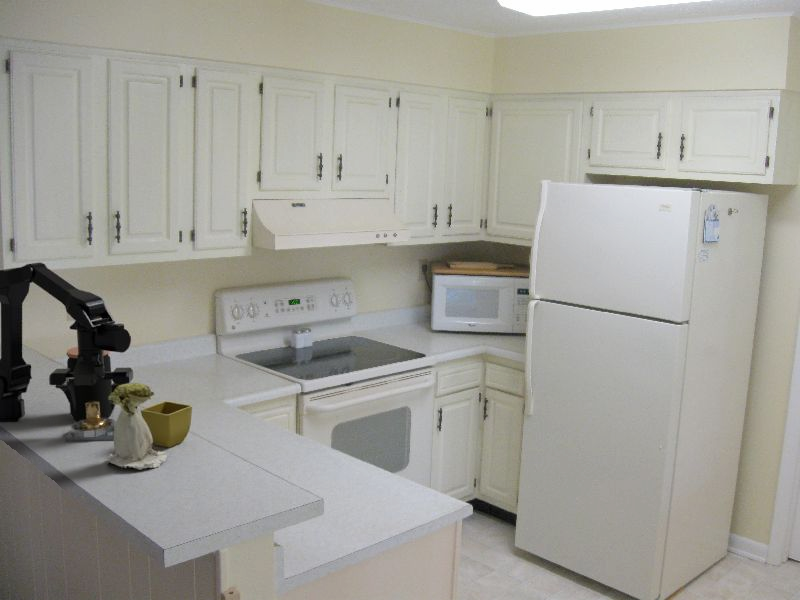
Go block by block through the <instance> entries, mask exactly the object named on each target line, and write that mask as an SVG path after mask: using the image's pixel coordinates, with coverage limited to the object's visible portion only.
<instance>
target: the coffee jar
mask: <svg viewBox="0 0 800 600" xmlns="http://www.w3.org/2000/svg"><path fill="white" fill-rule="evenodd" d="M103 351H104V354H103V362H104V367H105V372H112V365H111V364H112V363H111V357H110V355H109V354H110V352H111V351H105V350H103ZM77 355H78V346H75V347H72V348H69V349H68V350H67V349H66V356H67V357H68V358H67V360H66V361H67V362H66V366H67V368H66V369H70V368H71V370H72V372H74V369H75V366H76V364H77ZM112 382H113V381H112V379H110V380H96V383H95V384H94V385H91V386H89V385H80V386H76V385H75V383H74V390H75V400H76V410H75V411H73V410H72V408H71V406H70V405H69V412H70V416H71V417H72V419H73V420H74V421H75V422H78V421H80V420H84V419H87V418H86V402H89V401H99V405H100V418H110V417H111V416H112V414H113V412H114V410H112V409H111V402H109V400H108V397H109V395H110V394H111V393H112V387H111V385H112V384H113V383H112Z"/></svg>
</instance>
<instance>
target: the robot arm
mask: <svg viewBox="0 0 800 600" xmlns="http://www.w3.org/2000/svg"><path fill="white" fill-rule="evenodd" d="M31 283H34V284H35V285H36V286H38V287H39V288H40V289H42V290H43V291H44V292H46V294H47V293H48V294H49V295H50V296H51V297H53V298H54V299H56V300H57V301H58V302H60V303H61V304H62V305H63V306H64V308H65V310H66V313H67V314H68V315H69V316H70V317H71V318H72V319H73V320H74V322H73V323H72V324H71V325H70V326H69V330H73V331H76V340H77V342H76V343H77V347H78V355H77V364H76V366H75V369H74V372H72V370H71V368H70V369H67V368H56V369H55V370H54V371H52V372H51V374H49V377H48V381H49V383H48V384H49V385H50V386H54V387H55V388H56V389H60V391H62V392H63V394H64V395H65V397H66V398H67V400H68V404H69V407H70V406H71V408H72V410H73V411H75V410H76V400H75V390H74V383H75V385H76V386H80V385H89V386H91V385H94V384H95V383H96V380H110V379H112V382H113V383H112V385H111V387H112V393H113V391H114V390H115V389H116V388H117V387H118V386H120V385H123V384H129V383H132V382H131V381H132V380H133V379H134V371H133V369H132V368H131V367H116V368H115V369H114V370H113V371H111V372H105V367H104V362H103V354H104V351H103V350H105V351H110V352H114V353H125V352H127V350H129V348H130V346H131V343H132V342H131V341H132V336H131V335H130V332H129V330H127V329H126V328H125V324H124V323H116V321H115V319H114V317H113V315H112V314H111V313H110V311H109V309H108V308H107V305H106V304H105V301H104V299H103V298H102V297H100V296H99V295H97V294H94V293H92V292H90V291H85V290H81V289H78V288H77V287H75V286H74V285H72V284H71V283H69V282H68V281H66V280H65V279H64V278H62V277H61V276H59V275H58V274H57V273H55V272H54V271H52V270H51V269H49V268H48V267H47V265H46V264H45V263H43V262H32V263H26V264H25V265H23V266H20V267H12V268H6V269H0V422H4V423H5V422H18V421H20V419H22V418H23V416H25V415H26V411H25V409H26V407H25V399H23V396H22V394H23V393H24V394H25V393H27V391H28V387H29V384H30V383H31V382H30V381H31V380H32V379H33V377H32V365H31V364H30V363H27V362H26V361H25V359H24V358H23V303H24V301H25V299H26V298H27V296H28V294H29V291H30V286H31V285H30V284H31ZM115 407H116V405H115V404H112V403H111V409H112V410H113V411H114V410H115Z"/></svg>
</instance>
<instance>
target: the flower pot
mask: <svg viewBox="0 0 800 600" xmlns="http://www.w3.org/2000/svg"><path fill="white" fill-rule="evenodd" d="M192 413H193V405H190V404H185V403H177V402H172V401H165V400H164V401H162V402H159V403H156V404H154V405H151V406H147V407H145V408H142V409H140V415H141V416H142V417H143V419H144V420H145V422H146V424H147V425H148V427H149V430H150V432H151V435H152V439H153V443H152V445H156V446H159V447H165V448H172V447H174V446H176V445H179V444H181V443H183V442H184V441H185V440H186V438H187V436H188V434H189V432H190V428H191V425H192V424H191V423H192Z"/></svg>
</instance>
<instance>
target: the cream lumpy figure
mask: <svg viewBox="0 0 800 600" xmlns="http://www.w3.org/2000/svg"><path fill="white" fill-rule="evenodd" d="M151 389H152V387H150V386H148V385H146V384H144V383H139V382H130V383H128V384H123V385H120V386H118V387H117V388H116V389H115V390H114V391H113V393H111V394H110V395H109V397H108V400H109V402H111V403H112V404H115V406H116V405H117V406H119V407H121V408H120V409H121V410H120V412H119V415H118V417H117V419H116V420H115V421H116V424H115V427H114V440H113V448H114V450H115V452H114V455H113V454H112V453H110V454H109V455H108V458H107V463H106V464H109V463H111V464H114V465H116V466H118V467H121V469H122V468H125V469H127V467H128V468H129V469H130V468H134V469H137V470H139V471H140V470H143V469H147V468H150V469H152V468H154V469H155V468H159V467H160V466H161V464H162V463H163V462H165V461H166V459H167V457H168V455H167V452H165V451H160V450H158V451H156V450H154V449H152V447H153V445H152V444H153V439H152V435H151V432H150V430H149V427H148V425H147V424H146V422H145V420H144V419H143V417H142V414H141V412H139V410H138V407H139V406H140V405H142V404H144V403H146V402H147V401H149V400H151V398H152V397H154V396H155V392H154V391H152V390H151Z"/></svg>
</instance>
